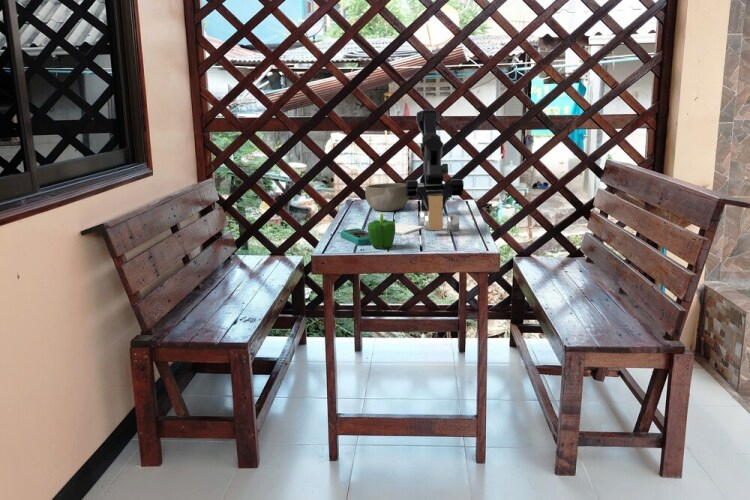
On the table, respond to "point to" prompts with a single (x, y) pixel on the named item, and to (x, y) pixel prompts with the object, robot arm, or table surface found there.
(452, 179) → the robot arm
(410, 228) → the white mat
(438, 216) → the tan tall block
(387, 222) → the bell pepper
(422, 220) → the cylinder
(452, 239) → the table surface
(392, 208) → the bowl
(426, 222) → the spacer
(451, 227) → the cylinder
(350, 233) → the digital multimeter
